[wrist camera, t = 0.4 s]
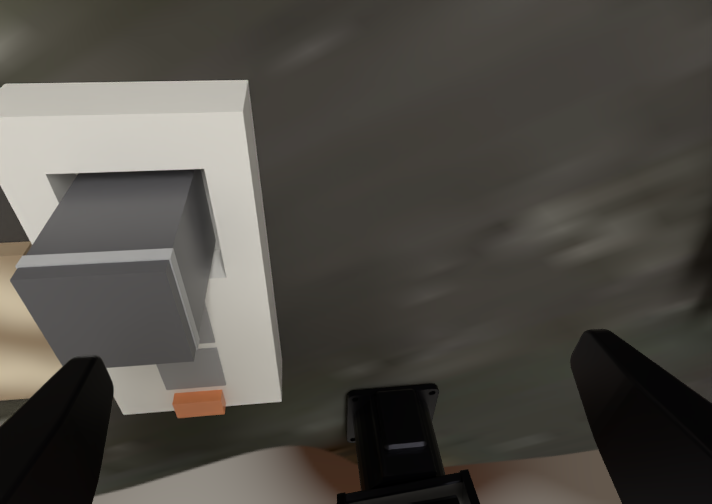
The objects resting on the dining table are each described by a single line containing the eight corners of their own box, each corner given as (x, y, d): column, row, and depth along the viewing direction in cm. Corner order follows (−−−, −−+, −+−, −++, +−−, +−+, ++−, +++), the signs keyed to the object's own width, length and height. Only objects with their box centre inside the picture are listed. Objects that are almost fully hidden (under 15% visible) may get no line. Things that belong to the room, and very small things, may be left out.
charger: (216, 241, 22) (195, 362, 17) (117, 246, 22) (64, 372, 17) (199, 156, 20) (166, 270, 14) (84, 159, 19) (6, 279, 14)
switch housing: (282, 360, 30) (281, 412, 28) (135, 371, 29) (120, 426, 27) (247, 80, 19) (241, 120, 16) (5, 83, 18) (-48, 127, 15)
